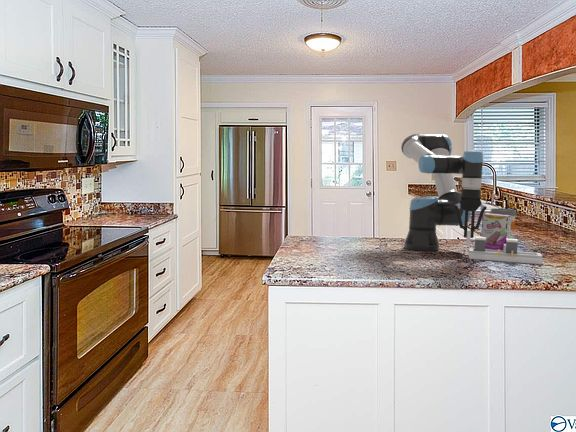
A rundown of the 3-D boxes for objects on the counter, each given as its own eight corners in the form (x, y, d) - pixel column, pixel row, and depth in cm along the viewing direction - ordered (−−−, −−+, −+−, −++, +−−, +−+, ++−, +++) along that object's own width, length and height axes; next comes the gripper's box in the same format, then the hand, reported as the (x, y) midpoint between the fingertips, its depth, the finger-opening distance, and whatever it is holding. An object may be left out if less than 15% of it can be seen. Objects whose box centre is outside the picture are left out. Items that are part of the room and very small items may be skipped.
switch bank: (469, 258, 205) (469, 244, 204) (468, 254, 214) (469, 240, 213) (542, 264, 196) (543, 249, 195) (538, 259, 205) (540, 245, 205)
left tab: (474, 252, 206) (475, 237, 206) (474, 250, 210) (474, 236, 210) (485, 253, 205) (485, 238, 204) (484, 251, 209) (485, 237, 208)
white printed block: (491, 239, 258) (493, 210, 257) (486, 235, 271) (488, 208, 269) (517, 240, 256) (519, 211, 255) (510, 236, 269) (512, 208, 267)
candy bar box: (479, 250, 226) (482, 213, 224) (484, 248, 229) (486, 213, 227) (505, 253, 218) (507, 216, 216) (509, 252, 222) (512, 215, 220)
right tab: (505, 254, 203) (506, 239, 202) (505, 253, 206) (506, 238, 206) (517, 255, 201) (518, 240, 201) (515, 253, 205) (517, 239, 204)
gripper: (454, 188, 205) (451, 245, 207) (488, 189, 201) (485, 248, 203) (454, 187, 212) (451, 243, 214) (488, 188, 208) (484, 245, 210)
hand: (468, 245), depth 209 cm, fingers closed
